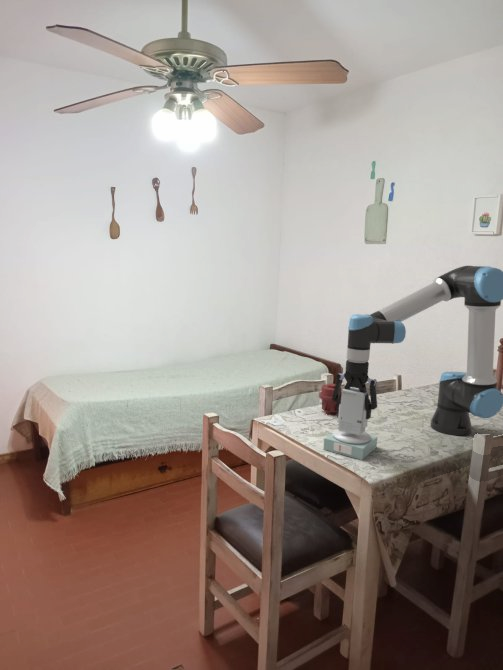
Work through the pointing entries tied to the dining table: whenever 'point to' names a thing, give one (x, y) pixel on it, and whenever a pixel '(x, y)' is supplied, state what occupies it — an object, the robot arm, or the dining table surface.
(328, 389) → the mechanical component
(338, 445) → the kitchen scale
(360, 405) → the skincare box
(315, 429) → the dining table surface
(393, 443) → the dining table surface
